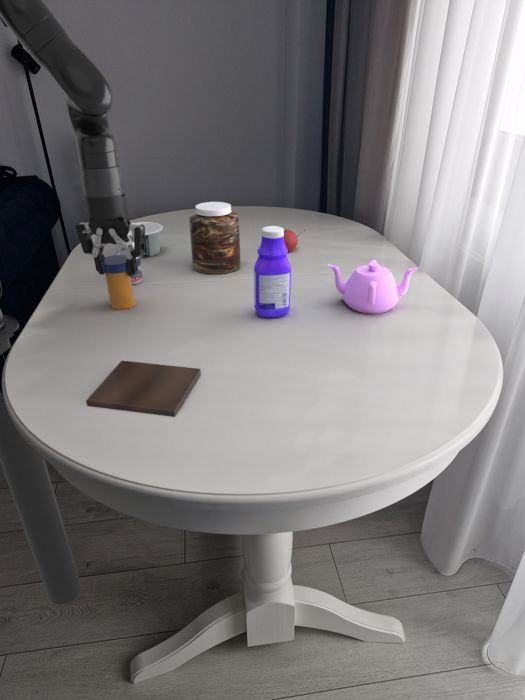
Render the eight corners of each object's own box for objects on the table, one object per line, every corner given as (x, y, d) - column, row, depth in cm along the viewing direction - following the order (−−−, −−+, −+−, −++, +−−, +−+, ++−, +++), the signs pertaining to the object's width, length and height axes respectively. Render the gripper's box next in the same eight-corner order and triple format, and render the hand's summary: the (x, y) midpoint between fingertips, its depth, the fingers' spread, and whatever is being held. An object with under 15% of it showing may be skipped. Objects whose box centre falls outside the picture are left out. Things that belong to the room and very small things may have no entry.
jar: (233, 256, 135) (231, 198, 127) (245, 271, 125) (244, 209, 117) (189, 261, 131) (184, 202, 124) (198, 277, 122) (193, 214, 114)
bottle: (286, 305, 107) (287, 223, 99) (293, 316, 102) (294, 231, 94) (252, 308, 106) (250, 225, 97) (257, 320, 101) (256, 234, 92)
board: (86, 406, 77) (85, 400, 76) (122, 365, 87) (121, 360, 86) (175, 417, 74) (174, 411, 74) (201, 373, 84) (200, 368, 84)
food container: (172, 253, 137) (170, 229, 134) (130, 262, 131) (126, 237, 128) (154, 242, 146) (151, 219, 142) (113, 250, 140) (109, 226, 137)
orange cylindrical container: (106, 308, 107) (98, 265, 102) (117, 299, 111) (110, 256, 106) (128, 310, 106) (121, 266, 101) (138, 301, 110) (132, 258, 105)
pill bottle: (132, 286, 117) (126, 249, 113) (115, 282, 120) (109, 245, 115) (147, 279, 121) (142, 242, 117) (131, 275, 124) (125, 239, 119)
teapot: (413, 307, 106) (419, 266, 101) (361, 323, 100) (364, 280, 95) (375, 288, 115) (379, 249, 110) (324, 301, 109) (326, 261, 104)
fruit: (295, 260, 137) (310, 233, 135) (277, 251, 135) (292, 224, 132) (287, 252, 142) (302, 226, 140) (270, 244, 140) (284, 218, 137)
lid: (96, 272, 103) (94, 263, 102) (110, 262, 108) (108, 253, 107) (124, 274, 101) (122, 265, 101) (136, 264, 107) (135, 255, 106)
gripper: (59, 193, 95) (76, 278, 103) (131, 196, 92) (143, 283, 101) (79, 185, 101) (94, 266, 110) (147, 187, 99) (157, 270, 107)
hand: (117, 274), depth 105 cm, fingers closed on lid, 6 cm apart
